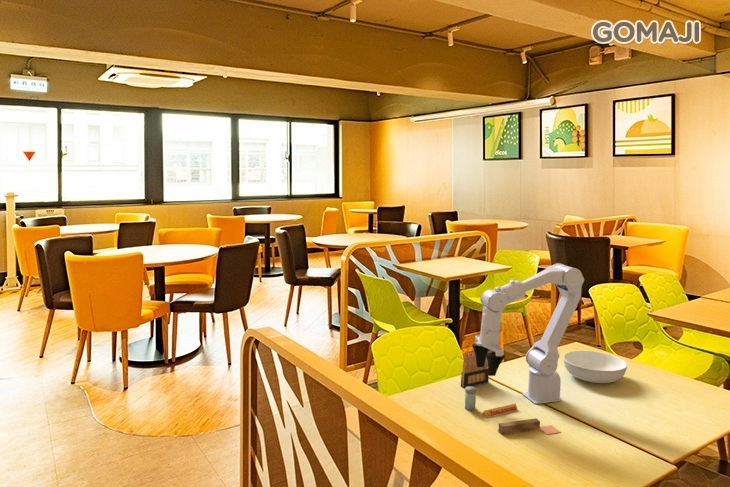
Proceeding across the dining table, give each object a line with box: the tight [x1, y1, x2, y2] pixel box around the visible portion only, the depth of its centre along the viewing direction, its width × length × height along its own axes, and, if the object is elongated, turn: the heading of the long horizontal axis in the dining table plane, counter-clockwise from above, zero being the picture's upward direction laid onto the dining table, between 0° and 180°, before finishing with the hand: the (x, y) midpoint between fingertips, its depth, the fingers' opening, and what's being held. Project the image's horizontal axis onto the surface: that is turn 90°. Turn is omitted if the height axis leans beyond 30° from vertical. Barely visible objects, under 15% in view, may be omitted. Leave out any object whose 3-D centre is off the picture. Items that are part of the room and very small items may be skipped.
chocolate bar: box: [481, 403, 518, 419], centre depth 173 cm, size 3×12×2 cm, turn 115°
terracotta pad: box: [540, 424, 562, 436], centre depth 162 cm, size 4×4×1 cm
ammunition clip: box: [460, 350, 490, 389], centre depth 194 cm, size 11×2×12 cm, turn 118°
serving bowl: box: [562, 350, 628, 384], centre depth 200 cm, size 21×21×7 cm
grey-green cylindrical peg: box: [464, 386, 477, 412], centre depth 175 cm, size 3×3×6 cm
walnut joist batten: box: [497, 417, 541, 436], centre depth 161 cm, size 12×2×2 cm, turn 105°
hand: (485, 370), depth 178 cm, fingers open, 7 cm apart
